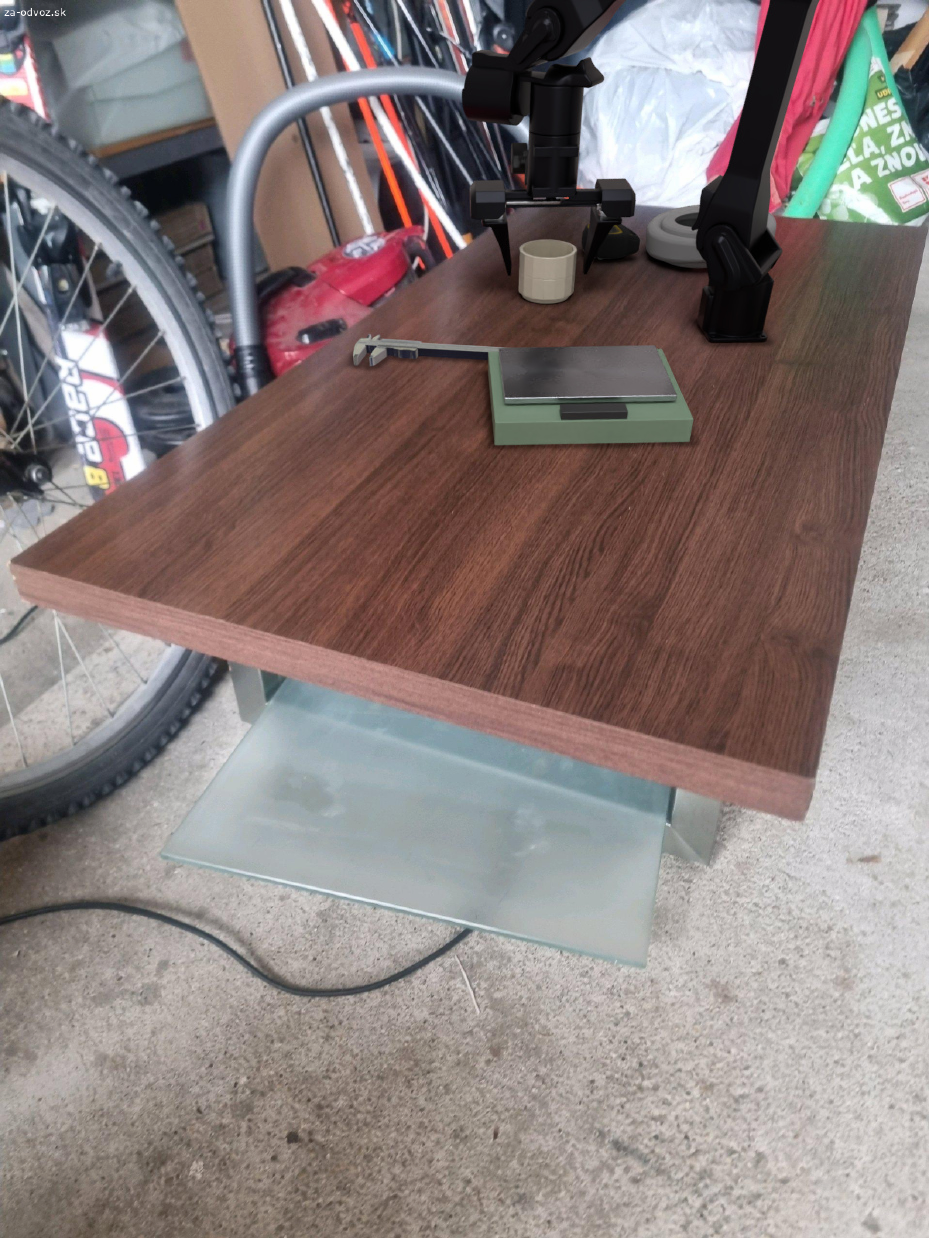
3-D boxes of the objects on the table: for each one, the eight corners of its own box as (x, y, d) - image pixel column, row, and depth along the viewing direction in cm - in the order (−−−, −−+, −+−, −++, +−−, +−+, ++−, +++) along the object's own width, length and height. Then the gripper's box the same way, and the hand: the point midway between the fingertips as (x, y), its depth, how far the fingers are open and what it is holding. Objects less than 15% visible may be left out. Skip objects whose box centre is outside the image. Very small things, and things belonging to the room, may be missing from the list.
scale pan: (654, 350, 88) (655, 345, 88) (676, 401, 80) (677, 395, 80) (498, 353, 88) (498, 347, 88) (504, 404, 80) (504, 398, 80)
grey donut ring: (669, 241, 125) (628, 272, 115) (673, 192, 121) (630, 220, 111) (788, 252, 117) (754, 287, 108) (796, 200, 113) (762, 231, 104)
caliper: (352, 358, 91) (356, 333, 96) (353, 367, 92) (357, 342, 97) (544, 354, 92) (539, 329, 96) (544, 364, 92) (538, 339, 97)
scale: (658, 370, 91) (663, 341, 89) (689, 442, 80) (695, 411, 77) (487, 373, 91) (488, 344, 89) (494, 446, 79) (495, 414, 77)
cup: (569, 284, 109) (573, 239, 106) (576, 304, 104) (579, 258, 101) (516, 285, 109) (517, 239, 106) (519, 305, 104) (521, 259, 101)
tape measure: (640, 261, 115) (643, 232, 113) (593, 267, 114) (595, 237, 111) (617, 245, 120) (620, 217, 118) (572, 250, 119) (574, 222, 116)
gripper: (627, 113, 101) (613, 250, 111) (468, 115, 101) (468, 253, 111) (644, 136, 93) (627, 282, 103) (470, 138, 92) (471, 285, 103)
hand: (546, 274), depth 105 cm, fingers open, 9 cm apart
